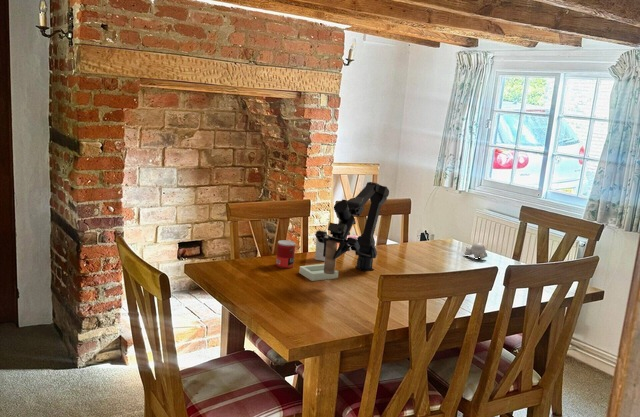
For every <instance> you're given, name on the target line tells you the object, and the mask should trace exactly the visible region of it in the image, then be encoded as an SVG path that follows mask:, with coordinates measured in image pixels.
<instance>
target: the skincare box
mask: <svg viewBox="0 0 640 417" xmlns="http://www.w3.org/2000/svg"><path fill="white" fill-rule="evenodd" d="M328 235H329V236H332V235H331V234H328ZM323 251H324V243H320V242H319V241H318V240H317V238H316V242H315V255H314V260H317V261H323V262H325V257H324V256H323Z"/></svg>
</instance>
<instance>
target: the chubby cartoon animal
mask: <svg viewBox="0 0 640 417" xmlns="http://www.w3.org/2000/svg"><path fill="white" fill-rule="evenodd" d="M465 248H466V249H465V250H463V255H464V254H465V255H469V256H472V255H473V258H474V257H475V258H479V257H480V259H479V260H483V259H485V258H487V257H488V252H487V251H486V246H485V244H484V243H482V242H474V243H473V244H472V246H470V245H468V246H465ZM465 255H464V256H465Z"/></svg>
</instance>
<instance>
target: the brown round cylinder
mask: <svg viewBox="0 0 640 417" xmlns="http://www.w3.org/2000/svg"><path fill="white" fill-rule="evenodd" d="M337 249H338V243H337V241H333V240H328V241H326V252H325V261H324V263H323V264H324V273H326V274H334V273H335V270H336V262H337V258H336V259H335V260H334V259H333V257H334V255H335V253H336V251H337Z"/></svg>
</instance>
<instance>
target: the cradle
mask: <svg viewBox="0 0 640 417" xmlns="http://www.w3.org/2000/svg"><path fill="white" fill-rule="evenodd" d="M339 272H340V271H339V270H337V269H335V273H334V274H326V273H324V263H321V264H320V263H318V264H310V265H301V266H299V272H298V273H299V274H301V275H302V276H304V277H305V278H306V279H308V280H309V281H311V282H315V281H323V280H333V279H338V278H339Z"/></svg>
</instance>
